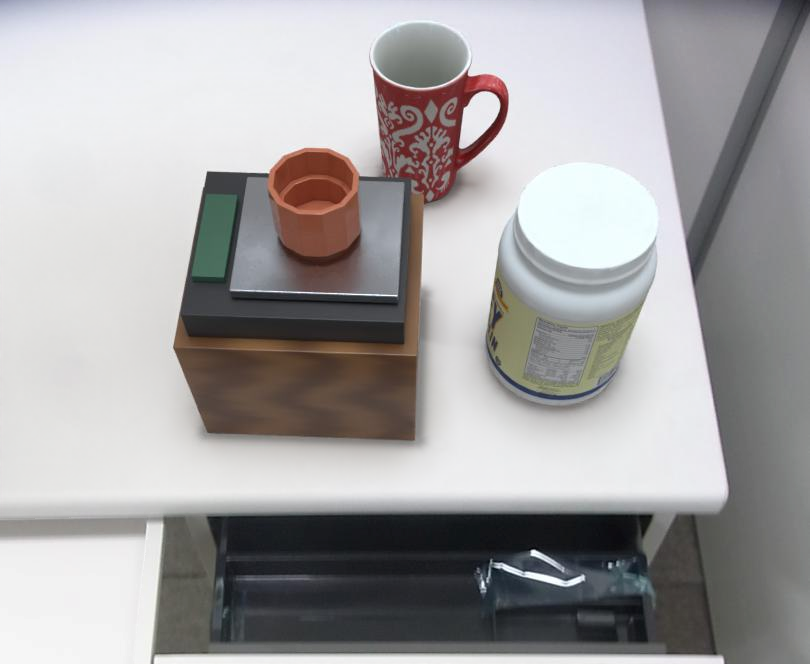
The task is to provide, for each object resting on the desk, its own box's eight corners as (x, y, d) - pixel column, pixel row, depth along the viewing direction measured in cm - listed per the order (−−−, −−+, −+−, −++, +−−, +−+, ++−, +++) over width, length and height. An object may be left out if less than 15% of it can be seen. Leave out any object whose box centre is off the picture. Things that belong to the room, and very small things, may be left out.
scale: (188, 336, 62) (177, 309, 59) (213, 195, 68) (205, 164, 65) (404, 344, 62) (404, 316, 59) (411, 202, 67) (411, 171, 65)
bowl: (272, 260, 60) (263, 212, 56) (281, 196, 63) (273, 146, 59) (358, 263, 60) (355, 215, 56) (363, 199, 63) (361, 149, 59)
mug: (364, 203, 83) (358, 79, 71) (384, 139, 87) (382, 11, 75) (488, 224, 82) (504, 103, 70) (504, 159, 86) (522, 32, 74)
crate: (207, 433, 72) (172, 347, 61) (230, 287, 79) (202, 186, 68) (414, 440, 72) (417, 356, 61) (421, 294, 79) (424, 193, 68)
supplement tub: (493, 292, 79) (515, 141, 63) (623, 312, 78) (677, 163, 62) (474, 400, 74) (493, 264, 58) (612, 422, 73) (668, 290, 58)
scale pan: (230, 298, 60) (228, 290, 59) (248, 184, 64) (247, 176, 64) (398, 303, 60) (398, 296, 59) (404, 189, 64) (404, 181, 64)
